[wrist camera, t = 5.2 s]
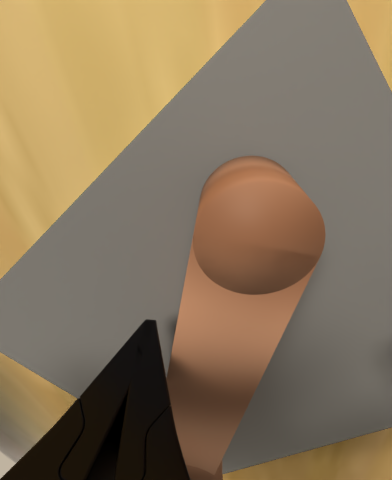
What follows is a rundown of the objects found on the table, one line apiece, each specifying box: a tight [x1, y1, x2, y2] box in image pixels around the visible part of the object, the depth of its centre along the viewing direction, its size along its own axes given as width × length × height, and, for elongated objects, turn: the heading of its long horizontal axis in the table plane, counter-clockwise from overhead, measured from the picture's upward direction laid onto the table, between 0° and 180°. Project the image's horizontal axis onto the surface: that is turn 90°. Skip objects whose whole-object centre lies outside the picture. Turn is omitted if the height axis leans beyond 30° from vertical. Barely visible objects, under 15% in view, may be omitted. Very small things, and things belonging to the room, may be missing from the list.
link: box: [166, 156, 326, 480], centre depth 10 cm, size 18×4×4 cm, turn 170°
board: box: [0, 0, 392, 474], centre depth 13 cm, size 19×19×1 cm
